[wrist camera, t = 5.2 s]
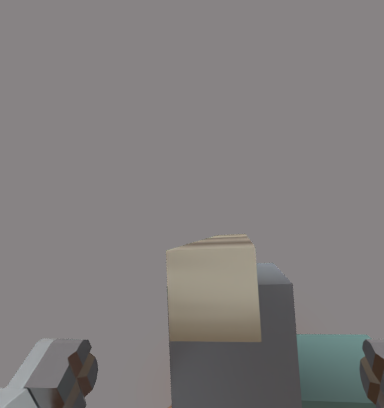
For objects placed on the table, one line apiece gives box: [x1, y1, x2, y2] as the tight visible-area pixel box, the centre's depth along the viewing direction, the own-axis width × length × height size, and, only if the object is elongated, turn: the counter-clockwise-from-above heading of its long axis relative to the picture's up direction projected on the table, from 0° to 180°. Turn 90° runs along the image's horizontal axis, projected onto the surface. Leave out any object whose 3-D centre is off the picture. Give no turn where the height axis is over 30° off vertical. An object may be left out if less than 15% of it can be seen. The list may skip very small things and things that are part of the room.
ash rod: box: [166, 234, 262, 342], centre depth 18 cm, size 19×3×3 cm, turn 171°
